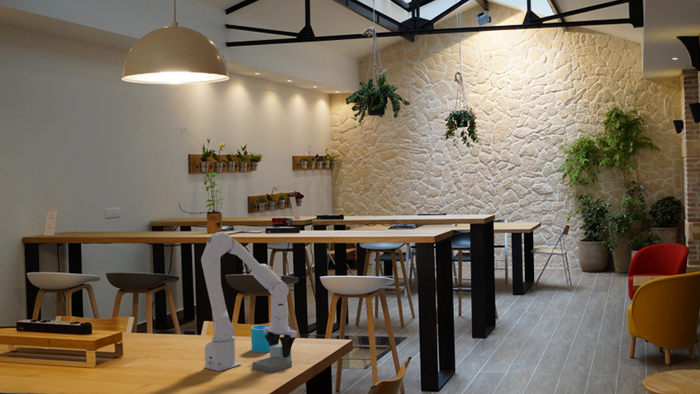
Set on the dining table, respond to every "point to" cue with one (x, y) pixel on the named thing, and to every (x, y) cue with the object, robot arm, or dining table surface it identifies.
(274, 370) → the slate base
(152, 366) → the dining table surface
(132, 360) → the dining table surface
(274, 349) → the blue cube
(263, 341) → the mug
